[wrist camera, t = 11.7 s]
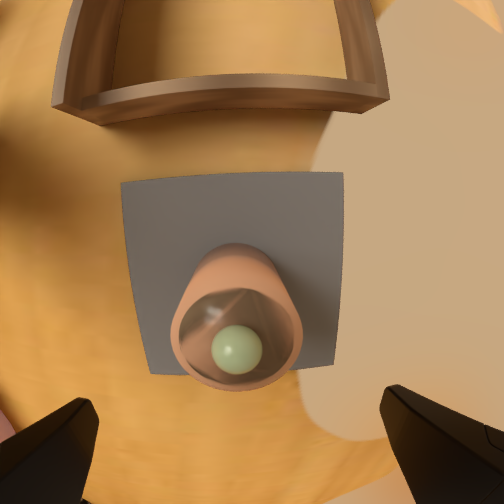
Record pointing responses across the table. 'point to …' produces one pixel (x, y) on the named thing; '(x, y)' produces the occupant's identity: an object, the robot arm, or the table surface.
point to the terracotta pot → (236, 321)
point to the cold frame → (211, 86)
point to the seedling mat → (236, 231)
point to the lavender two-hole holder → (5, 428)
